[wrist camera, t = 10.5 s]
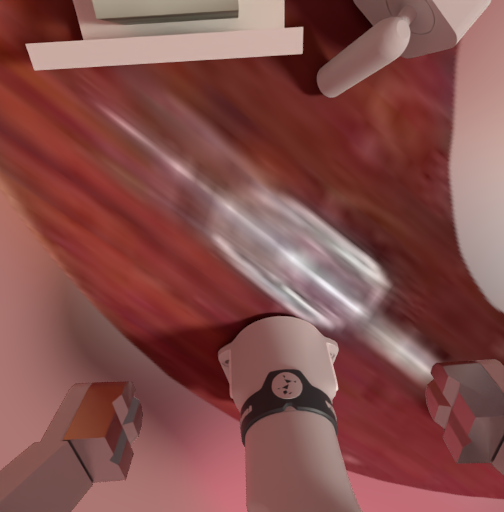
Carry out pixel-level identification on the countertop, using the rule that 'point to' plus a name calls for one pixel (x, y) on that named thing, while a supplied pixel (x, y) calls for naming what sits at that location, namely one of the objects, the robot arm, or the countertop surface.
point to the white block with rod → (398, 37)
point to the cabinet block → (163, 10)
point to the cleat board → (172, 39)
